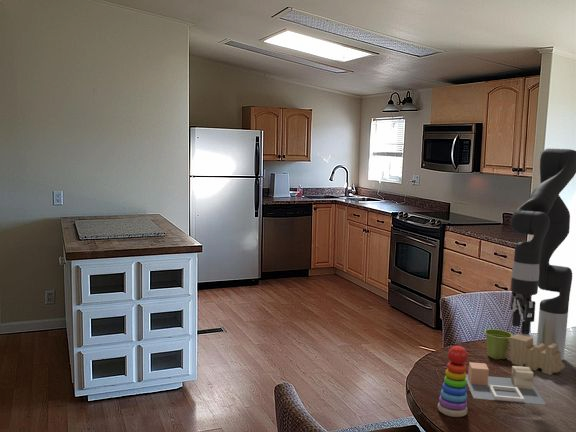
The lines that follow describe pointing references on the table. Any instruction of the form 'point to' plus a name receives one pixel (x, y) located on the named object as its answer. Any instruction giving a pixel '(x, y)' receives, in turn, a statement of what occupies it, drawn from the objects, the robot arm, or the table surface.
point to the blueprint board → (504, 391)
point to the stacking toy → (454, 385)
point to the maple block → (522, 377)
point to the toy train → (535, 355)
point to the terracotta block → (478, 373)
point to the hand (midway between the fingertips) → (520, 329)
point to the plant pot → (497, 343)
